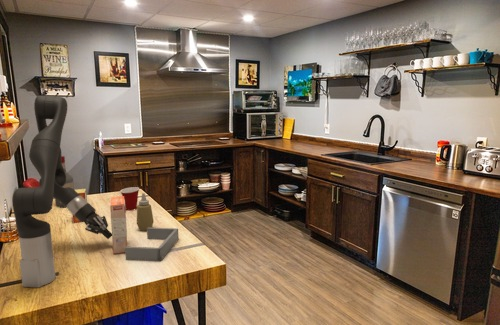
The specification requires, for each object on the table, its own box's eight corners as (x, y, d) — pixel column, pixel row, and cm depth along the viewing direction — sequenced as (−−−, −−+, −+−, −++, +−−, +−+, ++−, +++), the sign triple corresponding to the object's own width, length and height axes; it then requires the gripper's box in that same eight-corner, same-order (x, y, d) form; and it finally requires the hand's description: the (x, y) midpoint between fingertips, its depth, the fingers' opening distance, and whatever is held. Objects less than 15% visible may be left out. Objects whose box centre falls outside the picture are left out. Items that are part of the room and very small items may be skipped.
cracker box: (128, 252, 142) (125, 203, 138) (112, 254, 139) (109, 205, 136) (127, 240, 154) (124, 195, 151) (113, 242, 152) (109, 196, 149)
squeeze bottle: (147, 225, 174) (145, 190, 171) (157, 228, 169) (155, 193, 166) (133, 229, 168) (131, 193, 165) (143, 233, 163) (140, 196, 160)
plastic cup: (119, 207, 203) (118, 188, 201) (138, 205, 208) (137, 186, 206) (122, 212, 194) (121, 192, 192) (142, 209, 199) (141, 189, 197)
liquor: (77, 204, 210) (72, 156, 205) (62, 208, 202) (57, 158, 197) (68, 202, 215) (64, 155, 210) (54, 206, 207) (49, 157, 202)
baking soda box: (75, 217, 186) (72, 189, 183) (88, 216, 188) (85, 187, 185) (73, 223, 177) (70, 193, 174) (87, 221, 179) (84, 192, 177)
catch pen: (160, 261, 134) (160, 249, 133) (125, 259, 135) (125, 247, 134) (178, 239, 156) (178, 228, 155) (148, 237, 157) (147, 227, 156)
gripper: (77, 207, 139) (108, 237, 139) (95, 198, 152) (123, 226, 152) (66, 219, 140) (96, 249, 141) (84, 209, 153) (112, 237, 154)
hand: (110, 237), depth 147 cm, fingers closed
